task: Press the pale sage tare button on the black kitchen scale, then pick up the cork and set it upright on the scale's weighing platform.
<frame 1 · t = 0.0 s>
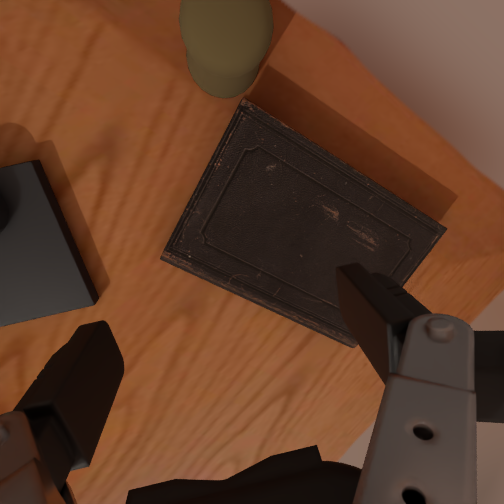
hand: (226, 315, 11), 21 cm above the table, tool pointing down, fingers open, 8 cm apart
scale: (3, 250, 31), on the table
hardcover book: (301, 236, 33), on the table
cork: (223, 58, 27), on the table
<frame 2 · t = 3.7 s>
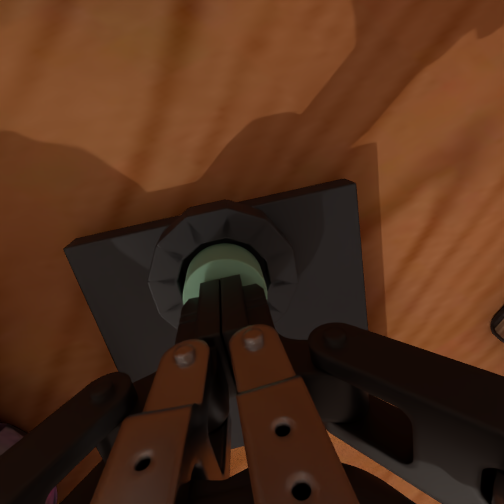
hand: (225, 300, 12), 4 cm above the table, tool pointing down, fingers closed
scale: (242, 329, 18), on the table
tare button: (225, 287, 13), point 3 cm above the table, slide at 0.1 cm, touching gripper
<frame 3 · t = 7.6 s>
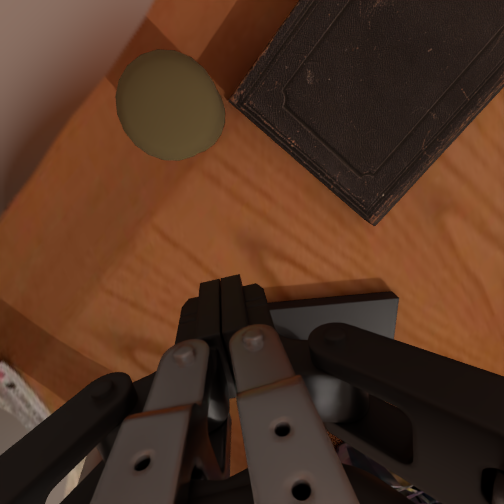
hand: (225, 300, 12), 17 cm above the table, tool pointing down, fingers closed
scale: (322, 350, 35), on the table
decorative bowl: (360, 491, 44), on the table
plastic bottle: (132, 414, 36), on the table
hardcover book: (400, 46, 25), on the table
cork: (186, 114, 26), on the table
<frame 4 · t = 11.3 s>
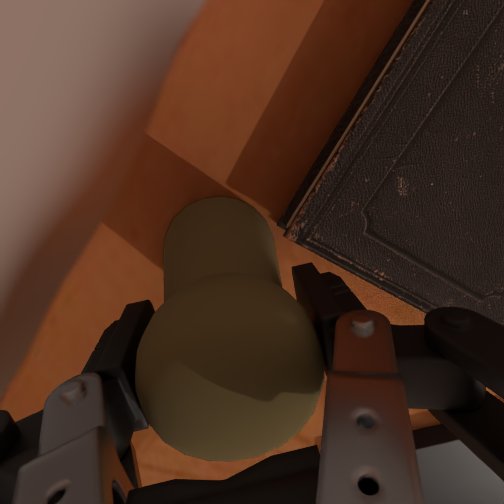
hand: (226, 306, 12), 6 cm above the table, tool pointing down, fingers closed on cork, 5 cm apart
scale: (425, 484, 27), on the table
cork: (219, 250, 18), on the table, touching gripper
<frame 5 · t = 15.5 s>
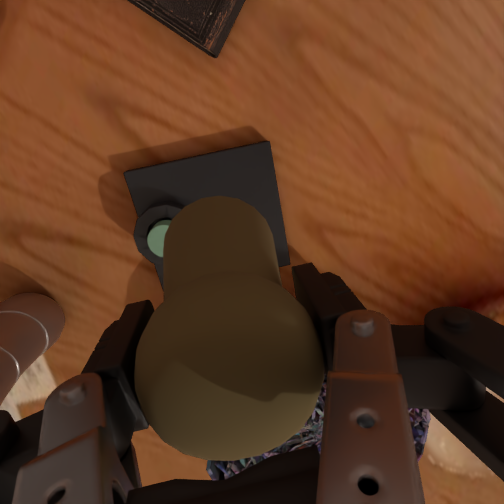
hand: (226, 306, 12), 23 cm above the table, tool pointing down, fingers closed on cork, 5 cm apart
scale: (213, 218, 34), on the table
decorative bowl: (300, 379, 43), on the table
plastic bottle: (40, 310, 36), on the table
tare button: (166, 238, 31), point 4 cm above the table, slide at 0.1 cm
cork: (219, 249, 18), point 16 cm above the table, touching gripper
when the fingers open (8 cm above the table, at t = 19.7 s): cork stays where it is, resting on scale.
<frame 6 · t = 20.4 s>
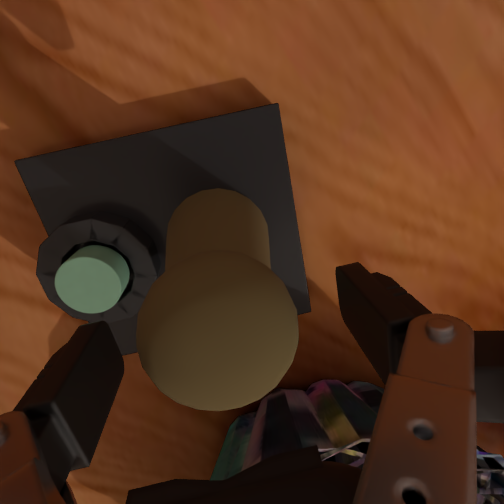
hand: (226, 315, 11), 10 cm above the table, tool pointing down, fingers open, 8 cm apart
scale: (184, 238, 21), on the table
decorative bowl: (321, 467, 30), on the table
tare button: (94, 278, 17), point 4 cm above the table, slide at 0.1 cm
cork: (218, 238, 20), point 1 cm above the table, touching scale
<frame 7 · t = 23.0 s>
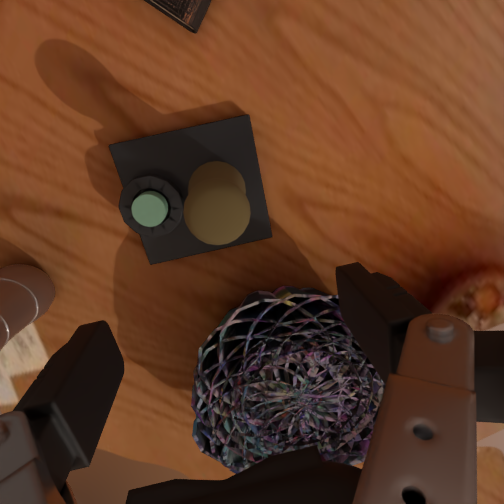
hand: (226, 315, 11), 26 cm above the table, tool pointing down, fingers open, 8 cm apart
scale: (197, 192, 36), on the table
decorative bowl: (286, 354, 45), on the table
plastic bottle: (31, 283, 37), on the table
tare button: (150, 208, 32), point 4 cm above the table, slide at 0.1 cm
cork: (217, 190, 34), point 1 cm above the table, touching scale
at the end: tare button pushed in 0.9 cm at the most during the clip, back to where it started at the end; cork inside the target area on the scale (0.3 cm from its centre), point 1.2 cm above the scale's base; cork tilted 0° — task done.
